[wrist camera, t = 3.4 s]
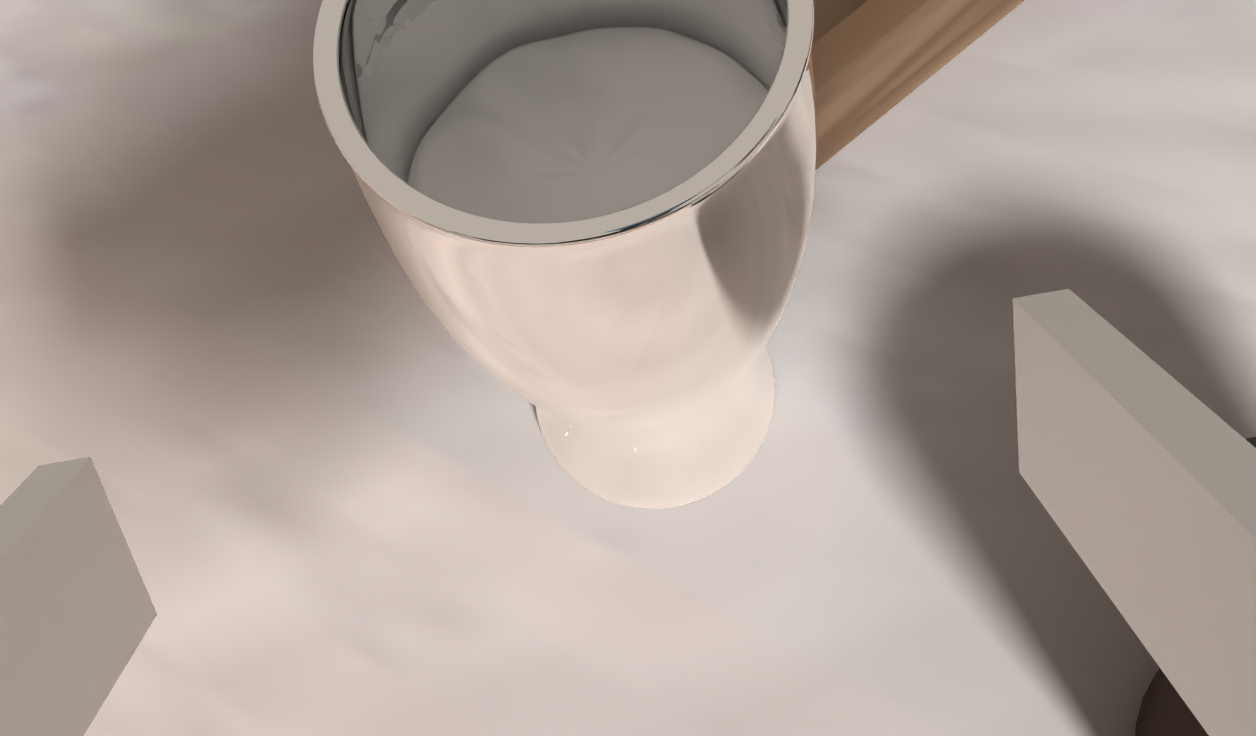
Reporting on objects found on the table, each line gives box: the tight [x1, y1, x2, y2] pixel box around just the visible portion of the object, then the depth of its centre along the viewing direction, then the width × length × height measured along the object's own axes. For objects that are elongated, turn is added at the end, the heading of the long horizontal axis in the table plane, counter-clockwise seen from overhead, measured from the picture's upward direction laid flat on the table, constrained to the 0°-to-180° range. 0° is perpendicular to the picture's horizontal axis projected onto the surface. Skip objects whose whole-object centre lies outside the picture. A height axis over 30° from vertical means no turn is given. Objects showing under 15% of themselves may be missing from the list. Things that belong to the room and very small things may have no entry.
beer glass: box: [313, 0, 817, 509], centre depth 21 cm, size 7×7×15 cm
